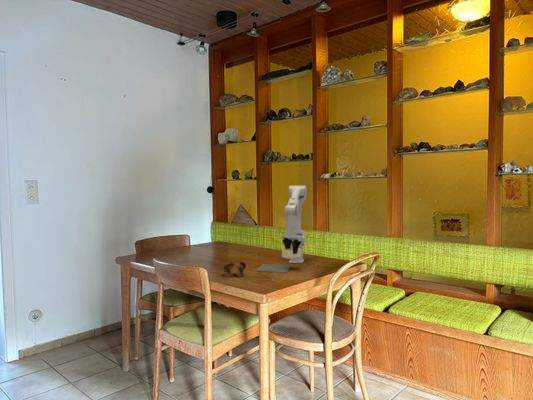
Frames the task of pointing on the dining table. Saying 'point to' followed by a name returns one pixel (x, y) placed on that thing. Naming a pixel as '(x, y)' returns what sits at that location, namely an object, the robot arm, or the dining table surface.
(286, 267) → the mat
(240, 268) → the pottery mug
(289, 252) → the box
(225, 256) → the dining table surface
